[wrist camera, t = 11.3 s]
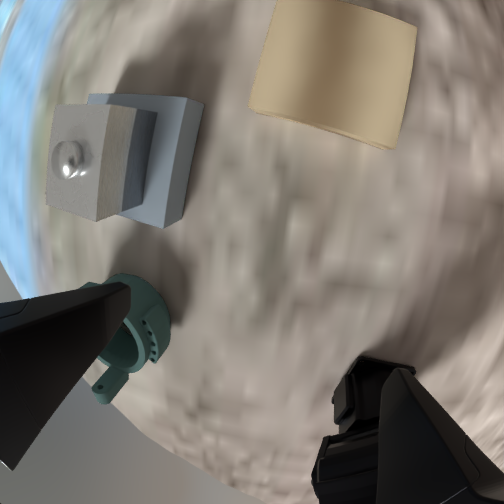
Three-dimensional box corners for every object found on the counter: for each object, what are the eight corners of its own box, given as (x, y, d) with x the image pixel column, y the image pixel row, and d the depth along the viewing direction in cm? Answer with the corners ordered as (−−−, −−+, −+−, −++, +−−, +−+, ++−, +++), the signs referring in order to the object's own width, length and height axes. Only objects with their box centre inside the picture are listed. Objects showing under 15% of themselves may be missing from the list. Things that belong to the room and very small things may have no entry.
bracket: (143, 355, 28) (101, 408, 20) (90, 292, 27) (36, 333, 19) (194, 325, 25) (151, 390, 17) (131, 249, 24) (65, 291, 16)
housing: (157, 112, 16) (101, 103, 11) (142, 204, 19) (86, 225, 13) (104, 108, 17) (46, 104, 12) (92, 190, 19) (37, 206, 14)
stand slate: (204, 104, 18) (187, 97, 16) (181, 218, 22) (163, 228, 19) (111, 97, 19) (89, 93, 17) (97, 195, 23) (75, 201, 20)
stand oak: (405, 41, 14) (417, 27, 11) (383, 149, 17) (395, 149, 14) (285, 9, 15) (280, -11, 12) (257, 113, 18) (247, 106, 15)
